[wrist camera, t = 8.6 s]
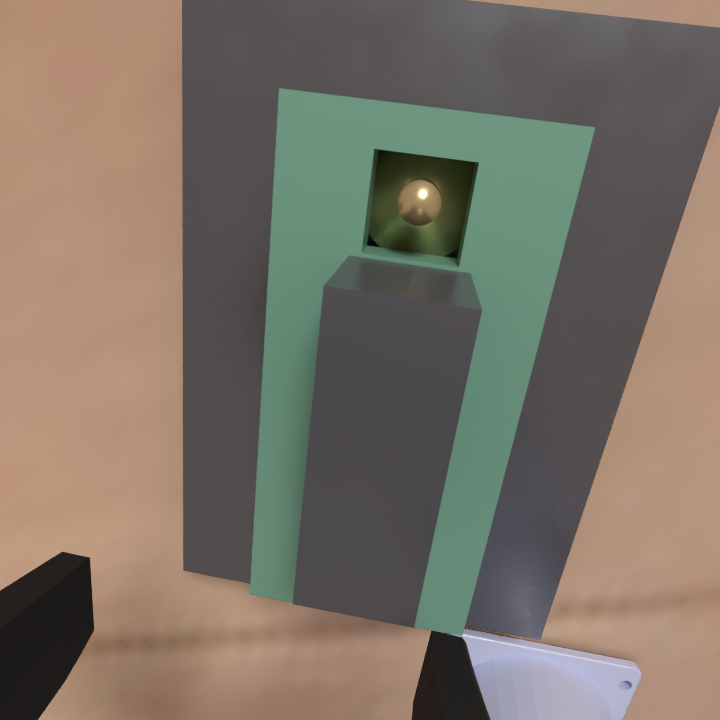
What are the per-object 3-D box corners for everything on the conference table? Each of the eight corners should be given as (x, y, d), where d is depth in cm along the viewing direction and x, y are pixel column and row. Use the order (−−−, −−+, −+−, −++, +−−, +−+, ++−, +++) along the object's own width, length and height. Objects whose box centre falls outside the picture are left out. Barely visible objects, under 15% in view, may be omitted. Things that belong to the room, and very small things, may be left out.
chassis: (530, 599, 22) (557, 717, 17) (203, 536, 23) (145, 633, 18) (705, 46, 15) (832, -5, 10) (211, -9, 16) (118, -78, 11)
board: (460, 606, 18) (468, 741, 14) (260, 568, 19) (211, 686, 15) (581, 129, 13) (654, 117, 8) (292, 94, 13) (227, 65, 9)
